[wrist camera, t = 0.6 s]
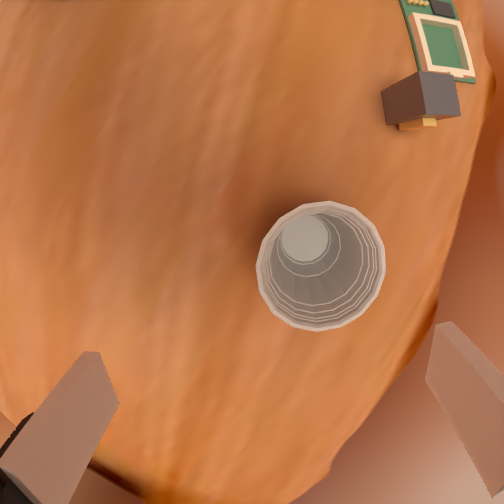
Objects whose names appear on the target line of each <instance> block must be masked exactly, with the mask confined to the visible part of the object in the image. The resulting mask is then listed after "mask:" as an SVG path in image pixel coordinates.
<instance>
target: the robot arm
mask: <svg viewBox="0 0 504 504" xmlns="http://www.w3.org/2000/svg"><path fill="white" fill-rule="evenodd" d="M425 382H426V383H427V385H428V386H429V388H430V390H431V391H432V393H433V394H434V396H435V398H436V399H437V401H438V402H439V404H440V406H441V407H442V409H443V411H444V412H445V414H446V416H447V417H448V419H449V421H450V422H451V424H452V426H453V427H454V429H455V431H456V432H457V434H458V436H459V438H460V439H461V441H462V443H463V444H464V446H465V448H466V450H467V452H468V454H469V455H470V457H471V459H472V460H473V463H474V464H475V466H476V468H477V470H478V472H479V473H480V475H481V477H482V479H483V481H484V483H485V485H486V487H487V489H488V491H489V493H490V495H491V497H492V498H494V497H496V496H498V495H500V494H502V493H504V375H503V374H502V373H501V372H500V371H499V370H498V369H497V368H496V367H495V366H494V364H493V363H491V361H490V360H489V359H488V358H487V357H486V356H485V355H484V354H483V353H482V352H481V351H480V350H479V349H478V348H477V347H476V346H475V344H474V343H472V341H471V340H470V339H469V338H468V337H466V335H464V333H463V332H462V331H461V330H460V329H459V328H458V327H457V326H455V324H454V323H453V322H446V323H441V324H436V325H435V332H434V338H433V343H432V349H431V353H430V358H429V364H428V368H427V372H426V377H425ZM119 404H120V402H119V400H118V398H117V395H116V393H115V391H114V388H113V386H112V383H111V381H110V379H109V376H108V374H107V371H106V369H105V366H104V363H103V361H102V358H101V355H100V353H99V352H88V351H84V352H83V354H82V355H81V356H80V357H79V358H78V360H77V361H76V362H75V363H74V364H73V366H72V367H71V368H70V369H69V370H68V372H67V373H66V374H65V375H64V376H63V378H62V379H61V380H60V381H59V383H58V384H57V385H56V386H55V387H54V389H53V390H52V391H51V392H50V394H49V395H48V396H47V397H46V399H45V400H44V401H43V403H42V404H41V405H40V406H39V408H38V409H37V410H36V411H35V413H34V412H32V413H31V414H30V415H28V416H27V417H25V418H24V419H23V420H22V421H21V422H20V424H19V425H18V426H17V427H16V431H13V433H12V434H11V435H10V438H8V439H7V441H6V442H5V443H4V445H3V446H2V447H1V449H0V504H68V503H69V501H70V499H71V497H72V495H73V493H74V491H75V489H76V487H77V485H78V483H79V481H80V479H81V477H82V475H83V473H84V471H85V469H86V467H87V465H88V463H89V461H90V459H91V457H92V455H93V453H94V451H95V449H96V447H97V445H98V444H99V442H100V440H101V438H102V436H103V434H104V432H105V430H106V428H107V426H108V424H109V423H110V421H111V419H112V417H113V415H114V413H115V411H116V410H117V408H118V406H119Z"/></svg>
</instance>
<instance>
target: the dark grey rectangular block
mask: <svg viewBox="0 0 504 504" xmlns="http://www.w3.org/2000/svg"><path fill="white" fill-rule="evenodd" d="M381 95H382V101H383V107H384V114H385V120H386V125H396V124H399V130H416V129H422V128H428V127H435V126H437V125H436V120H441V119H446V118H452V117H457V116H461V113H460V107H459V101H458V95H457V90H456V85H455V80H454V75H450V74H441V73H432V72H421V71H418V72H416V73H414V74H412V75H410V76H409V77H407V78H405V79H403V80H401V81H399V82H398V83H396V84H394V85H392V86H390V87H389V88H387V89H385V90H383V91H381Z"/></svg>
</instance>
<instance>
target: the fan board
mask: <svg viewBox="0 0 504 504" xmlns="http://www.w3.org/2000/svg"><path fill="white" fill-rule="evenodd" d="M399 2H400V6H401V9H402V12H403V15H404V18H405V22H406V25H407V28H408V32H409V36H410V39H411V43H412V47H413V51H414V55H415V59H416V64H417V68H418V71H421V72H432V73H441V74H450V75H454V80H455V81H456V82H464V83H471V84H475V83H476V81H475V73H474V69H473V64H472V60H471V56H470V53H469V49H468V45H467V42H466V38H465V35H464V32H463V28H462V25H461V22H460V21H459V19H458V16H457V13H456V10H455V7H454V4H453V2H452V0H399Z"/></svg>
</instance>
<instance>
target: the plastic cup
mask: <svg viewBox="0 0 504 504" xmlns="http://www.w3.org/2000/svg"><path fill="white" fill-rule="evenodd" d="M255 267H256V273H257V280H258V287H259V293H260V294H261V296H262V297H263V299H264V300H265V302H266V304H267V305H268V307H269V308H270V310H271V312H272V313H273V314H274V315H276V316H277V317H279V318H280V319H282V320H283V321H285V322H286V323H288V324H289V325H291V326H292V327H295V328H300V329H305V330H310V331H315V332H318V331H324V330H330V329H335V328H341V327H342V326H344V325H346V324H348V323H349V322H351V321H353V320H354V319H356V318H358V317H359V316H361V315H362V314H363V313H364V312H365V311H366V309H367V308H368V307H369V306H370V305H371V303H372V302H373V301H374V300H375V298H376V297H377V296H378V293H379V291H380V288H381V285H382V282H383V279H384V276H385V273H386V265H385V247H384V245H383V243H382V240H381V238H380V236H379V234H378V232H377V230H376V228H375V226H374V224H373V223H372V222H370V221H369V220H368V219H367V218H366V217H365V216H364V215H362V214H361V213H360V212H359V211H358V210H357V209H355V208H353V207H350V206H346V205H343V204H340V203H336V202H333V201H323V202H315V203H307V204H302V205H301V206H299V207H297V208H296V209H294V210H292V211H290V212H289V213H287V214H285V215H284V216H282V217H280V218H279V219H278V220H277V222H276V223H275V224H274V226H273V227H272V228H271V230H270V231H269V232H268V233H267V235H266V236H265V237H264V239H263V240H262V243H261V247H260V251H259V255H258V259H257V263H256V266H255Z"/></svg>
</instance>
